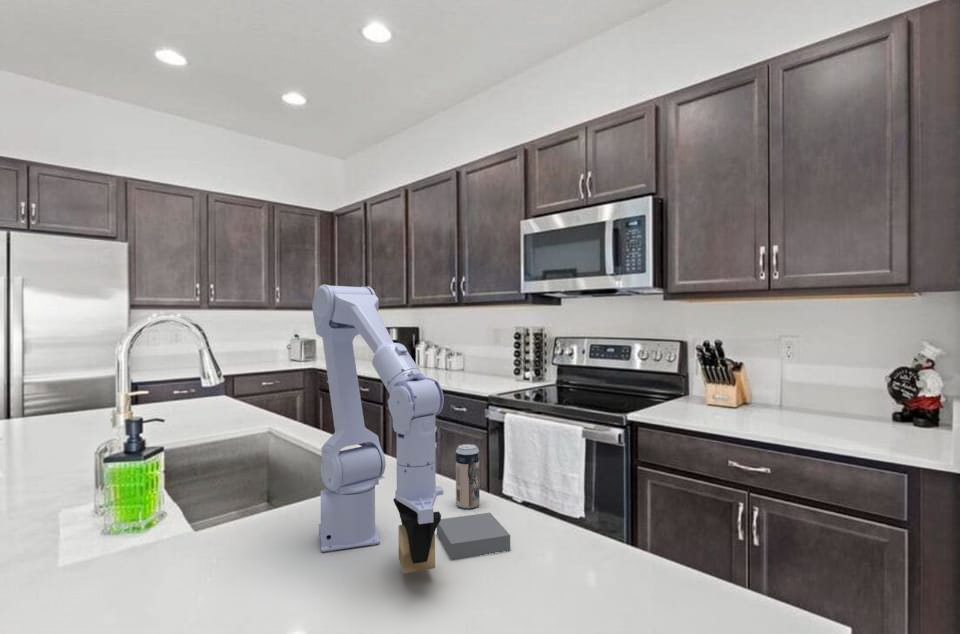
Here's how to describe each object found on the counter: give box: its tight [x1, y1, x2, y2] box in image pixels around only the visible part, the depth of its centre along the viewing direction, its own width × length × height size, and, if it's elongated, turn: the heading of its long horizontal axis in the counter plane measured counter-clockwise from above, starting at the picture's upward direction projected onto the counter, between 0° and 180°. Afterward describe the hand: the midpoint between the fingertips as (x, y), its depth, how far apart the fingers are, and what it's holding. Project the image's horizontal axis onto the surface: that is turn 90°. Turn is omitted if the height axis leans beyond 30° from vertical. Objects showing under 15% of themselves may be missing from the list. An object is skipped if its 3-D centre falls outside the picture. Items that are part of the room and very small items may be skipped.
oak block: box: [397, 524, 436, 574], centre depth 72 cm, size 5×5×5 cm
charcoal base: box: [436, 512, 511, 561], centre depth 83 cm, size 10×10×3 cm
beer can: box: [455, 443, 480, 510], centre depth 100 cm, size 5×5×12 cm
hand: (416, 553), depth 72 cm, fingers closed on oak block, 5 cm apart
